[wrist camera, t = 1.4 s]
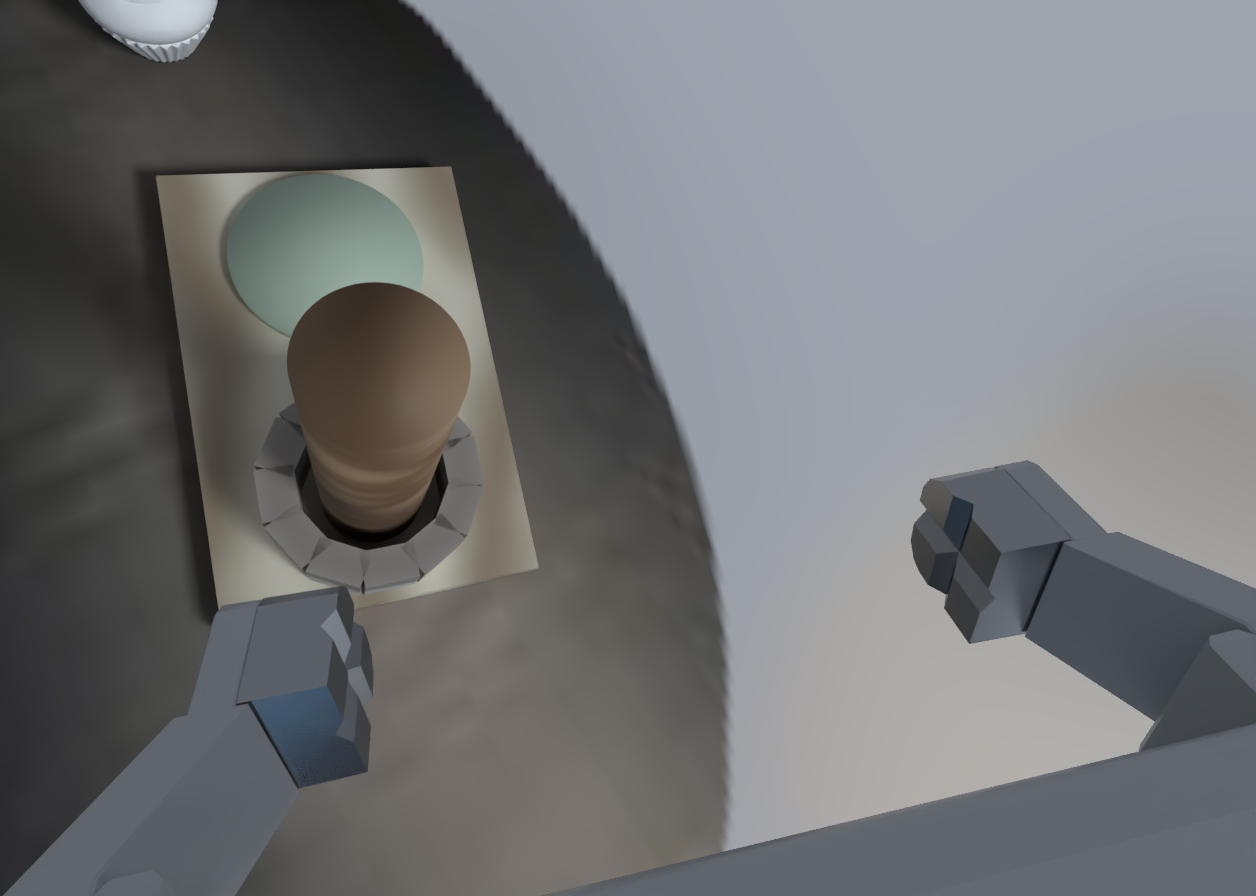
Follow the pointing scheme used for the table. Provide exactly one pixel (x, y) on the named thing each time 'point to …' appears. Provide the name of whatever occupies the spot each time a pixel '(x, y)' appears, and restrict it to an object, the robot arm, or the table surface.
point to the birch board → (264, 387)
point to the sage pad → (317, 245)
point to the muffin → (154, 24)
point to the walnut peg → (376, 401)
